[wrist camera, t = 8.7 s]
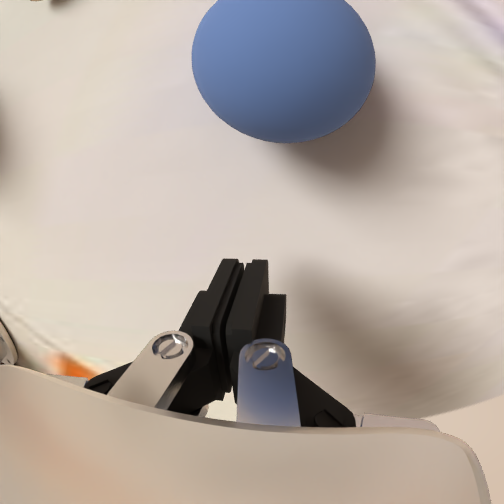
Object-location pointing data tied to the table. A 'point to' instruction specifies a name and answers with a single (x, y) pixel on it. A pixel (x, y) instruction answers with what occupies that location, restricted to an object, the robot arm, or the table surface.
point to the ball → (283, 66)
